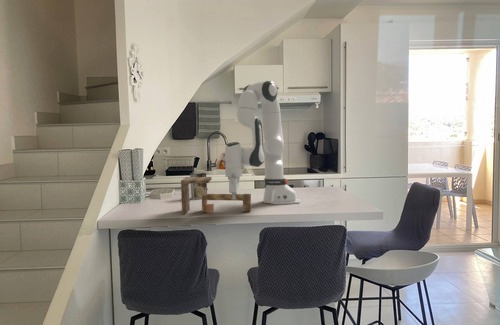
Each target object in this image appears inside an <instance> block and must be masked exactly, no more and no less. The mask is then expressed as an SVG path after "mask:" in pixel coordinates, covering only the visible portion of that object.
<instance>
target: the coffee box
mask: <svg viewBox="0 0 500 325" xmlns="http://www.w3.org/2000/svg"><path fill="white" fill-rule="evenodd" d="M189 177H207V173H205V172H197V173H196V172H192V173H189ZM189 187H190V199H193V200H200V199H201V200H202V195H203V194H204V193H207V194H208V183H189Z"/></svg>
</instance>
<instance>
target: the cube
mask: <svg viewBox="0 0 500 325" xmlns="http://www.w3.org/2000/svg"><path fill="white" fill-rule="evenodd" d="M214 204H215V203H207V204H206V205H205V212H204V213H206V214H207V213H209V214H210V213H211V214H212V213H214V212H215V207H214V206H215V205H214Z"/></svg>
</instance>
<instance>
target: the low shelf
mask: <svg viewBox="0 0 500 325" xmlns="http://www.w3.org/2000/svg"><path fill="white" fill-rule="evenodd" d="M211 181H212V176H206V177H190V176H187V177H184V178H183V179H181V180H180V188H181V189H180V192H181V194H180V195H181V214H182V216H186V215H187V213H189V211H190V209H191V204H190V203H191V201H190V199H191V196H190V183H207V184H209V183H210V182H211Z"/></svg>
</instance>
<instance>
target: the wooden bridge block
mask: <svg viewBox="0 0 500 325" xmlns="http://www.w3.org/2000/svg"><path fill="white" fill-rule="evenodd" d="M208 201H235V202H236V201H242V212H251V211H252V193H242V194H241V193H236V199H235V200H233V199H232V193H208V192H207V193H204V194H203V195H202V199H201V212H202V213H203V212H204V213H206V212H205V205H206V204H208Z"/></svg>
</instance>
